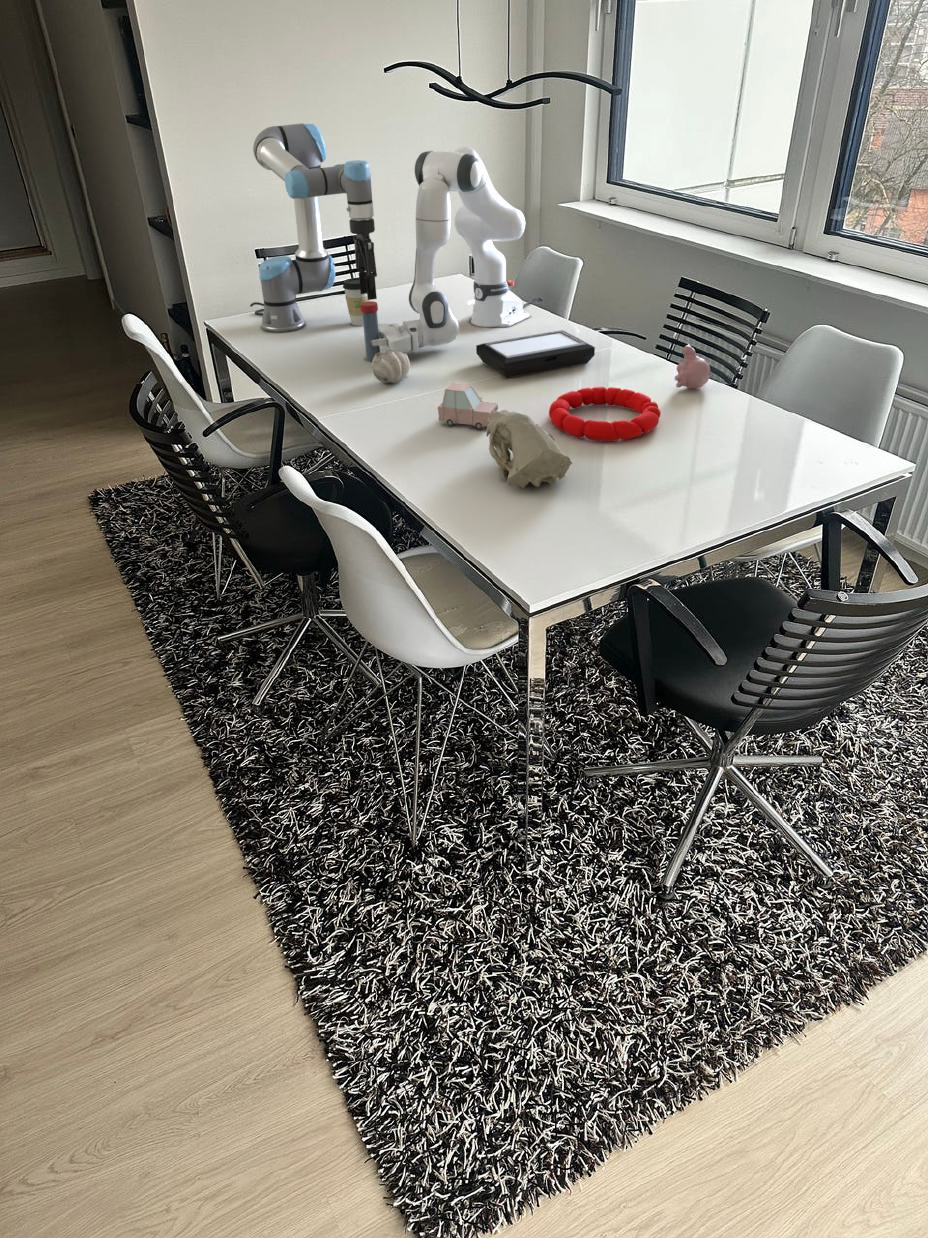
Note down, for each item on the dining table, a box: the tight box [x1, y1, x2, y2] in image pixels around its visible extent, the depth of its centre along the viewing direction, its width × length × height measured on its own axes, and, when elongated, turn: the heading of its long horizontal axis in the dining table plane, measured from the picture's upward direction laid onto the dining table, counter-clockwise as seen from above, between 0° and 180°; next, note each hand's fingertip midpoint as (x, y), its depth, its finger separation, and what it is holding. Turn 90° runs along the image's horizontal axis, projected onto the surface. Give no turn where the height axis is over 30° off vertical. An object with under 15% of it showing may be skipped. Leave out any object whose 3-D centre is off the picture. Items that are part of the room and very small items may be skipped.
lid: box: [360, 300, 379, 313], centre depth 284 cm, size 6×6×2 cm
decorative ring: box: [548, 386, 661, 442], centre depth 242 cm, size 7×30×30 cm
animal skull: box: [485, 409, 573, 489], centre depth 216 cm, size 17×25×20 cm
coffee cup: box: [342, 277, 370, 327], centre depth 323 cm, size 10×10×15 cm
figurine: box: [674, 344, 711, 390], centre depth 259 cm, size 9×11×12 cm
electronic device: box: [475, 329, 596, 379], centre depth 283 cm, size 32×6×20 cm
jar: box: [362, 311, 381, 362], centre depth 289 cm, size 5×5×17 cm
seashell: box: [371, 349, 411, 384], centre depth 271 cm, size 10×15×10 cm
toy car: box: [437, 382, 499, 431], centre depth 243 cm, size 9×15×10 cm, turn 70°
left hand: (368, 296), depth 282 cm, fingers open, 7 cm apart
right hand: (369, 339), depth 290 cm, fingers closed on jar, 5 cm apart
